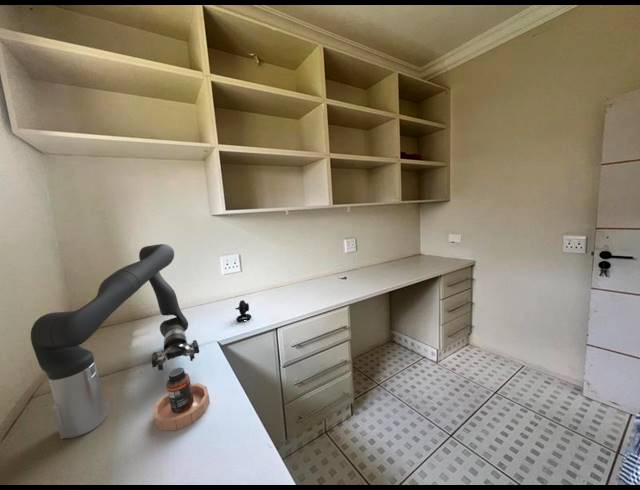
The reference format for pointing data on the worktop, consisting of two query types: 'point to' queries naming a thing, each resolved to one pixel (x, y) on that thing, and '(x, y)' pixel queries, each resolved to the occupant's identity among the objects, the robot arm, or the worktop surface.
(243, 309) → the webcam
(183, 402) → the supplement bottle
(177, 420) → the bowl
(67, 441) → the worktop surface
